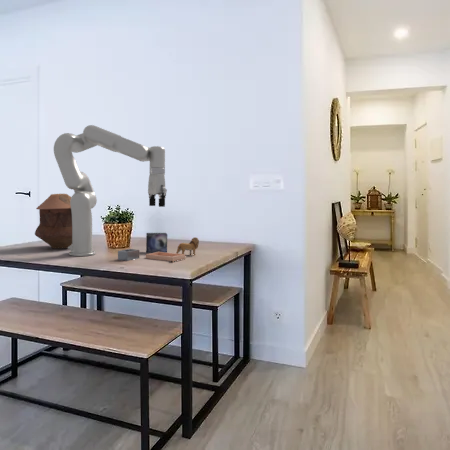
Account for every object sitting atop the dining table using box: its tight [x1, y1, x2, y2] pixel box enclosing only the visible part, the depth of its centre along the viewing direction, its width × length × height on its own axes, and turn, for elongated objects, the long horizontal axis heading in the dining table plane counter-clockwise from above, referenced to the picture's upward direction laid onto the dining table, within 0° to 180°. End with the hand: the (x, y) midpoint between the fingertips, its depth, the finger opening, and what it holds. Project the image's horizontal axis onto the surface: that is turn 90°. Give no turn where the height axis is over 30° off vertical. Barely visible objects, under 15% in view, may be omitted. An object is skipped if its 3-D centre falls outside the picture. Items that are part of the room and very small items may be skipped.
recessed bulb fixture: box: [117, 248, 140, 262], centre depth 190 cm, size 6×9×4 cm, turn 154°
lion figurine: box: [175, 237, 200, 257], centre depth 206 cm, size 15×5×9 cm, turn 137°
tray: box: [145, 251, 186, 263], centre depth 194 cm, size 15×10×2 cm
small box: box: [145, 232, 168, 254], centre depth 213 cm, size 11×6×10 cm, turn 105°
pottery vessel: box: [34, 193, 72, 249], centre depth 224 cm, size 26×26×30 cm
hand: (157, 206), depth 203 cm, fingers open, 9 cm apart
